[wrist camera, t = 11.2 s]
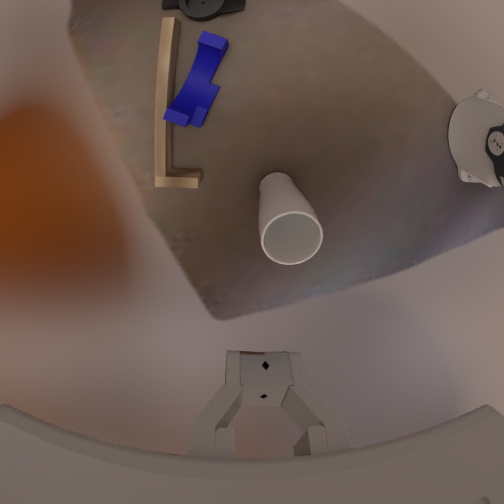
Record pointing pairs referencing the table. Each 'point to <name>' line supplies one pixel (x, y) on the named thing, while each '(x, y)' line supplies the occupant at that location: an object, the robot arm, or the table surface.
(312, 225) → the drinking glass
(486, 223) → the table surface
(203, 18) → the black winged round fixture
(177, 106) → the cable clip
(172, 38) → the bar
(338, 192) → the table surface
